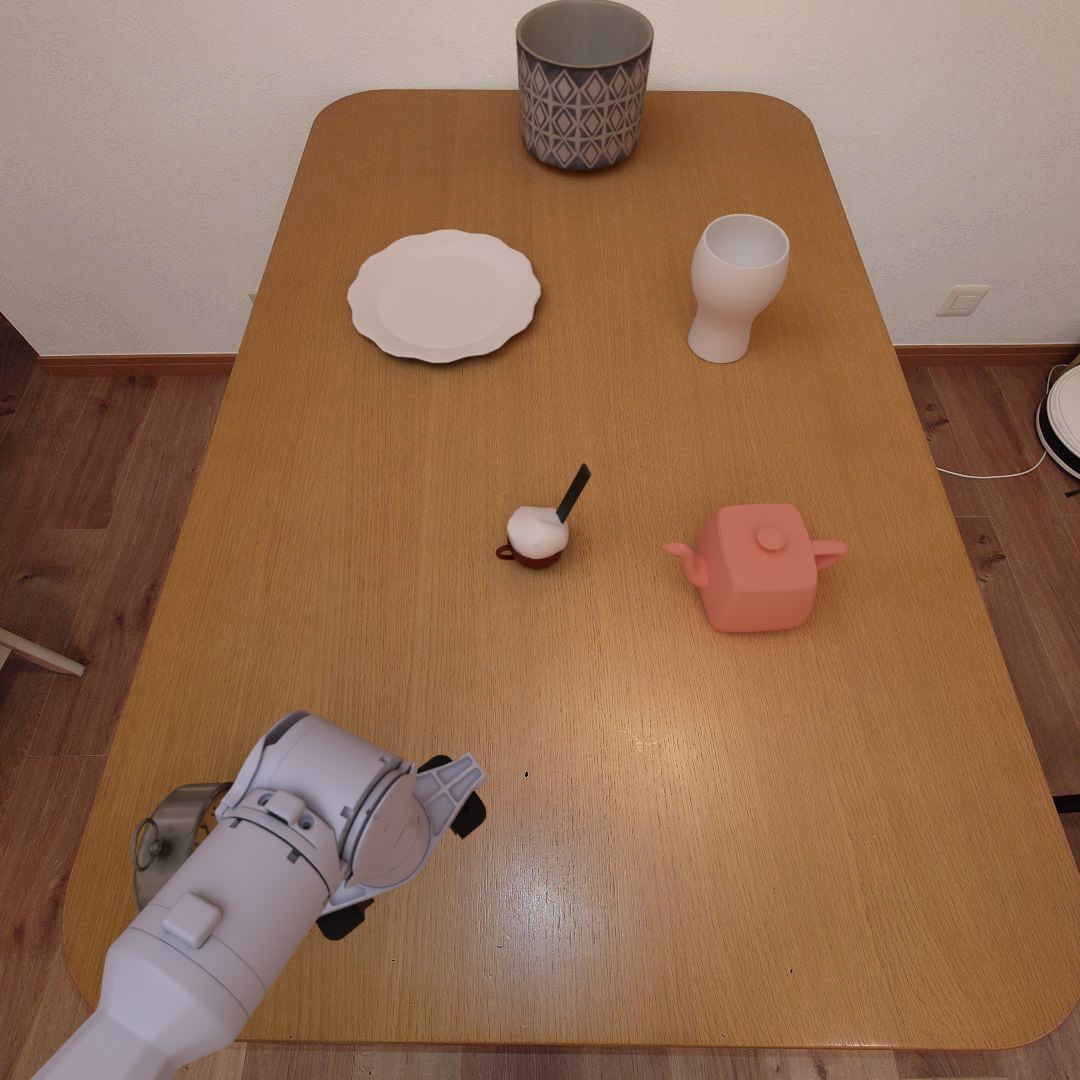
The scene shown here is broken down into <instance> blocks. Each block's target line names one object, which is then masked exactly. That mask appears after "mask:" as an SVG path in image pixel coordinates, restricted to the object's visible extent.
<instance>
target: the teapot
mask: <svg viewBox="0 0 1080 1080" xmlns="http://www.w3.org/2000/svg"><path fill="white" fill-rule="evenodd" d="M696 539H697V540H696V542H695V551H694V550H693V548H692V547H691V546H689V545H688V544H686V543H682V542H669V543H665V544H664V545H663V546H662V549H663V551H664V552H665V553H667V554H669V555H673V556H676V557H678V558H679V559H680V564H681V565H680V566H681V571H682V573H683V575H684V578H685V579H686V581H688V582H689V584H691V585H693V586H695V587H697V588H698V590H699V593H700V597H701V600H702V603H703V607H704V610H705V612H706V616H707V618H708V620H709V622H710V624H711V626H712V627H713V628H714V629H715V630H716V631H717V632H720V633H760V632H772V631H783V630H788V629H789V630H790V629H793V628H796V627H799V626H801V625H803V624H804V623H805V622H806V620H807V619H808V616H809V615H810V613H811V611H812V608H813V606H814V603H815V599H816V594H817V589H818V579H819V578H818V572H819V571H822V570H825V569H827V568H828V567H831V566H834V565H836V564H838V563H839V562H841V561H842V560H843V559H845V558H846V557H847V556H848V555H849V553H850V548H849V547H850V546H849V544H848V543H847V542H845V541H843V540H840V539H827V538H826V539H824V538H823V539H811V538H810V536H809V532H808V530H807V527H806V524H805V522H804V519H803V517H802V515H801V513H800V511H799V509H798V508H797V506H795V505H794V504H793V503H785V502H783V503H781V502H779V503H777V502H776V503H775V502H774V503H751V504H750V503H749V504H737V505H728V506H727V505H725V506H722V507H720V508H719V509H717V510H716V512H714V514H712V516H710V517H709V519H708V520H707V521H706V522H705V524H703V526H702V528H701V530H700V531H699V533H698V535H697V538H696Z"/></svg>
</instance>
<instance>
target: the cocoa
mask: <svg viewBox="0 0 1080 1080" xmlns="http://www.w3.org/2000/svg"><path fill="white" fill-rule="evenodd" d="M591 477H592V472H591V470H590V469H589V467H588V466H587V464H586V463H585V462H582V463H581V465H580V467H579V469H578V470H577V472H576V474H575V476H574V478H573V480H572V481H571V483H570V485H569V486H568V489H567V491H566V492H565V494H564V496H563V498H562V499H561V502H560V503H559V506H558V507H557V508H555V507H552V506H548V507H547V506H546V507H544V506H543V507H539V506H531V505H529V506H525V505H524V506H523V505H521V506H519V507H518V508H517V509H516V510H514V512H512V514H511V517H510V518H509V519H508V521H507V526H506V542H507V543H506V544H504V545H501V546H499V547H498V548H497V549H496V550H495V556H496V557H497V558H498V559H499V560H502V561H515V562H516V563H518V564H519V565H521V566H522V567H524V568H525V569H531V570H535V571H537V570H538V571H539V570H543V569H548V568H549V567H551V566H552V565H554V564H556V563H557V562H558V561H559V560H560V558H561V555H563V552H564V551H565V548H566V547H567V544H568V542H569V539H570V538H569V537H570V536H569V535H570V533H569V532H570V529H569V523H568V520H567V518H568V517H569V515H570V513H571V511H572V510H573V508H574V506H575V505H576V503H577V501H578V499H579V498H580V496H581V494H582V492H583V491H584V489H585V487H586V486H587V484H588V481H589V480H590V478H591ZM505 551H509V552H510V553H511V554H503V553H504V552H505Z"/></svg>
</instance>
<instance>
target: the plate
mask: <svg viewBox="0 0 1080 1080" xmlns="http://www.w3.org/2000/svg"><path fill="white" fill-rule="evenodd" d="M541 289H542V287H541V283H540V282H539V279H538V278H537V277H536V275H535V274H534V270H533V267H532V262H531V261H530V259H528V257H527V256H526V255H525V254H524V253H522V252H521V251H518V250H516V249H514V248H512V247H510V246H509V245H508V244H506V243H505V242H504V241H503V240H501V239H500V238H498V237H496V236H493V235H490V234H487V233H473V232H472V233H471V232H467V231H463V230H459V229H437V230H434V231H431V232H428V233H423V234H414V235H413V234H411V235H408V236H405V237H402V238H399V239H396V240H394V241H393V242H392V243H391V244H389V245H388V246H387V247H386V248H384V249H383V250H381V251H379V252H377V253H374V254H373V255H370V256H369V257H368V258H367V259H366V260H365V261H364V262H363V263H362V264H361V265H360V268H359V271H358V273H357V277H356V278H355V279H354V281H353V282H352V283H351V285H350V286H349V287H348V290H347V297H346V300H347V303H348V304H349V306H350V309H351V314H352V315H351V316H352V318H351V319H352V325H353V326H354V328H355V329H356V331H357V332H358V334H360V335H362V336H364V337H365V338H367V339H369V340H370V341H372V342H374V344H375V345H376V346H377V347H378V348H379V349H380V350H381V351H382V352H383V353H385V354H387V355H390V356H392V357H395V358H401V359H403V358H404V359H416V360H419V361H423V362H426V363H429V364H432V365H433V364H435V365H436V364H437V365H438V364H451V363H454V362H457V361H460V360H463V359H465V358H475V357H483V356H487V355H489V354H491V353H493V352H496V351H498V350H500V349H501V348H502V347H503V346H504V345H505V344H506V343H507V342H508V341H509V340H510V339H511V338H513V337H516V335H518V334H519V333H522V332H523V331H525V330H526V329H527V328H528V326H529V325H530V324H531V322H532V321H533V319H534V312H535V307H536V305H537V303H538V301H539V299H540V298H541V295H542V290H541Z"/></svg>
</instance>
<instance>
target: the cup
mask: <svg viewBox="0 0 1080 1080" xmlns="http://www.w3.org/2000/svg"><path fill="white" fill-rule="evenodd" d="M790 248H791V247H790V239H789V238H788V236H787V234H786V232H785V231H784V230H783V229H782V228H781V227H780V226H779V225H778V224H776V223H775V222H773V221H771V219H767V218H765V217H762V216H759V215H755V214H751V213H732V214H726V215H723V216H720V217H717V218H716V219H714V220H712V221H711V222H710V223H709V224H708V225H707V226H706V227H705V229H704V230H703V232H702V234H701V237H700V238H699V240H698V242H697V245H696V246H695V249H694V252H693V256H692V260H691V265H690V277H691V286H692V292H693V294H694V297H695V299H696V303H697V307H696V309H697V310H696V315H695V317H694V319H693V322H692V323H691V326H690V328H689V332H688V334H687V344H688V347H689V349H690V350H691V351H692V353H693V354H695V356H697V357H699V358H701V359H702V360H704V361H706V362H711V363H714V364H729V363H733V362H736V361H738V360H739V359H741V358H742V357H744V356H745V354H746V353H747V352H748V349H749V344H750V339H751V330H752V325H753V323H754V321H755V320H756V318H757V316H758V315H759V314H760V313H762V312H763V311H764V310H766V309H767V308H768V306H769V305H770V304H771V302H772V301H773V300H774V298H775V297H776V296H777V294H778V293H779V292H780V291H781V289H782V286H783V284H784V281H785V278H786V277H787V272H788V269H789V263H790Z"/></svg>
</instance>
